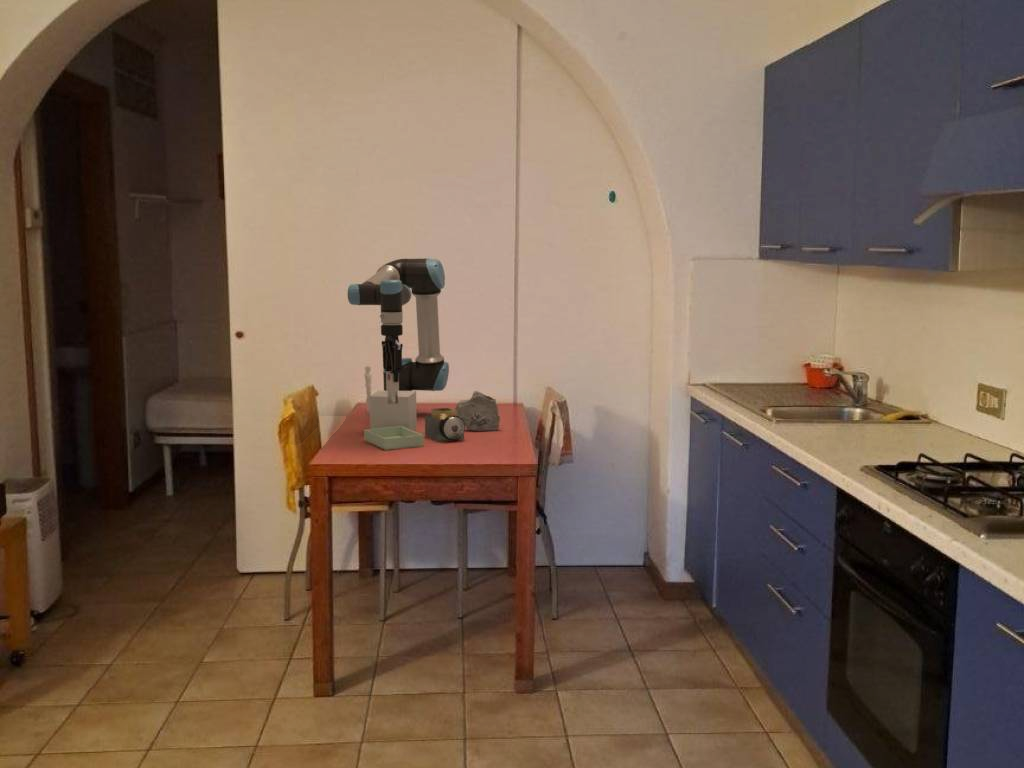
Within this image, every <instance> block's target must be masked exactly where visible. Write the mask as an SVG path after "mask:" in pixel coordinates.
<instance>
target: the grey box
mask: <svg viewBox="0 0 1024 768" xmlns="http://www.w3.org/2000/svg"><path fill="white" fill-rule="evenodd" d="M371 368H372V367H371V366H370V365H366V366H365V367H364V369H365V373H364V374H363V375H364V380H365V386H364V387H365V388H366V391H365V392H366V399H365V404H366V408H367V409H366V411H367V412H369V429H376V428H386V427H396V426H403V427H405V428H408V429H410V430H413V431H414V430H415V429H416V428H418V427H417V425H418V424H417V421H418V420H417V415H416V409H417V390H412V391H398V403H397V404H388V391H384V390H380V389H379V390H377V391H376V392H374V393H373V394H372V385H371V384H372V377H373V375H372V374H371V373H370V372H371V370H372V369H371ZM416 430H417V429H416ZM416 430H415V431H416Z"/></svg>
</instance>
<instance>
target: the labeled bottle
mask: <svg viewBox="0 0 1024 768" xmlns="http://www.w3.org/2000/svg"><path fill="white" fill-rule="evenodd" d="M387 391H388V404H397V403H398V391H393V392H392V391H391V374H390V375H387Z"/></svg>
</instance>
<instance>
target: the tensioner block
mask: <svg viewBox="0 0 1024 768" xmlns="http://www.w3.org/2000/svg"><path fill="white" fill-rule="evenodd" d="M430 410H431V411H430V412H431V414H424V434H425V435H424V437H425V436H426V438H428V439H430V438H431V439H430V440H433V441H435V440H436V441H435V442H437V441H438V442H437V443H442V442H441V441H445V442H451V441H450V440H455V441H461V440H460V439H464V440H465V429H466V427H465V423H464V418H463V417H460V416H458V415H457V410H455V408H451V407H438V408H431V409H430Z"/></svg>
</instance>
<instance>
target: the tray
mask: <svg viewBox="0 0 1024 768" xmlns="http://www.w3.org/2000/svg"><path fill="white" fill-rule="evenodd" d="M363 431H364V432H363V434H364V435H363V438H364V440H365V441H364V442H366V441H367V442H366V443H368V442H370V443H371V445H373V444H374V445H373V446H375V445H376V446H375V447H377V446H378V447H377V448H379V447H380V449H381V448H382V449H381V450H383V449H384V451H385V450H386V451H390V450H389V449H395V450H399V449H398V448H404V449H410V448H409V447H413V448H419V447H420V446H422V447H424V446H425V435H424V434H422V433H419V432H418V431H416V430H415V431H413V430H410V429H408V428H405V427H403V426H396V427H386V428H376V429H370V428H368V429H364V430H363ZM370 443H369V444H370ZM420 448H421V447H420Z"/></svg>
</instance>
